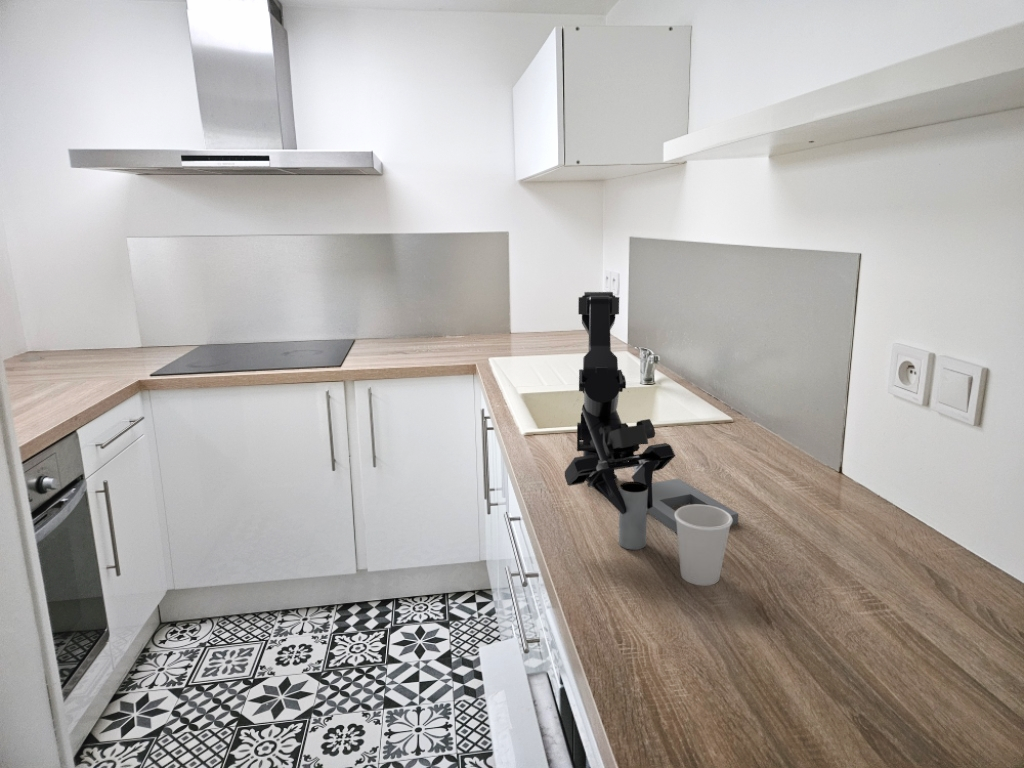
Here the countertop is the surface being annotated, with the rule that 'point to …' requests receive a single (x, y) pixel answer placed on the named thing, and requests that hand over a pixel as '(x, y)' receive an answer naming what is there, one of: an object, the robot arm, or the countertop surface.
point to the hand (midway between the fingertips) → (637, 510)
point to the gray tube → (633, 515)
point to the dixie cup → (702, 542)
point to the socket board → (679, 501)
